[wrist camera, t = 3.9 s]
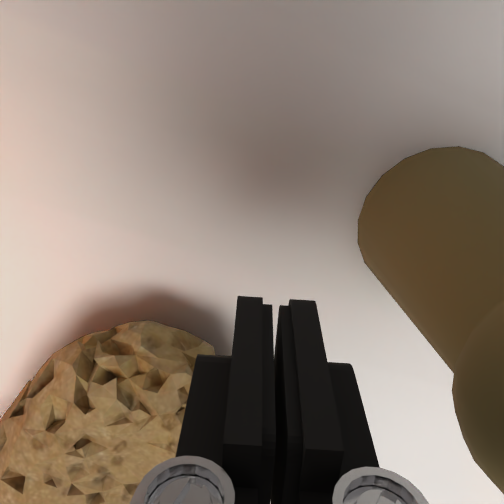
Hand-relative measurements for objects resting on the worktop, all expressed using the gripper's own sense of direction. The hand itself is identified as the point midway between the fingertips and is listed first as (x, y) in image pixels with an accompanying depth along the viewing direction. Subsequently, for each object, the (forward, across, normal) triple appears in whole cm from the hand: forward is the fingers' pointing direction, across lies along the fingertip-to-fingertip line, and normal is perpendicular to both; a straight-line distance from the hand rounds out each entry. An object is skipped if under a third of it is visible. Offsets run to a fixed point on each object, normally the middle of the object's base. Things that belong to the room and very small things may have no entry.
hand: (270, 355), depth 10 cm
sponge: (+9, +8, +13) cm, 17 cm away
